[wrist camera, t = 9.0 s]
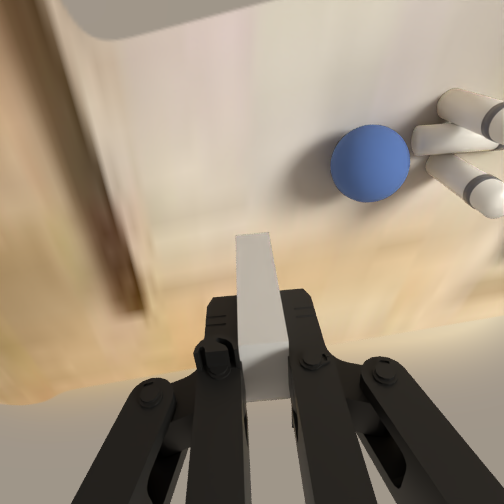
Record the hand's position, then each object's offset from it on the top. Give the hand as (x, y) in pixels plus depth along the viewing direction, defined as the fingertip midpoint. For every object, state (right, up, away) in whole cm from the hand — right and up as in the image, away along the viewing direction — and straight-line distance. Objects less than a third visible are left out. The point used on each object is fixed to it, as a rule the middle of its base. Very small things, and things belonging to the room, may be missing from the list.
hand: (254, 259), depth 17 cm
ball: (+9, +7, +12) cm, 17 cm away
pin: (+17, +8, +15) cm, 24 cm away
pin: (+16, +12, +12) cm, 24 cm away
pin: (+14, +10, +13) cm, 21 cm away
